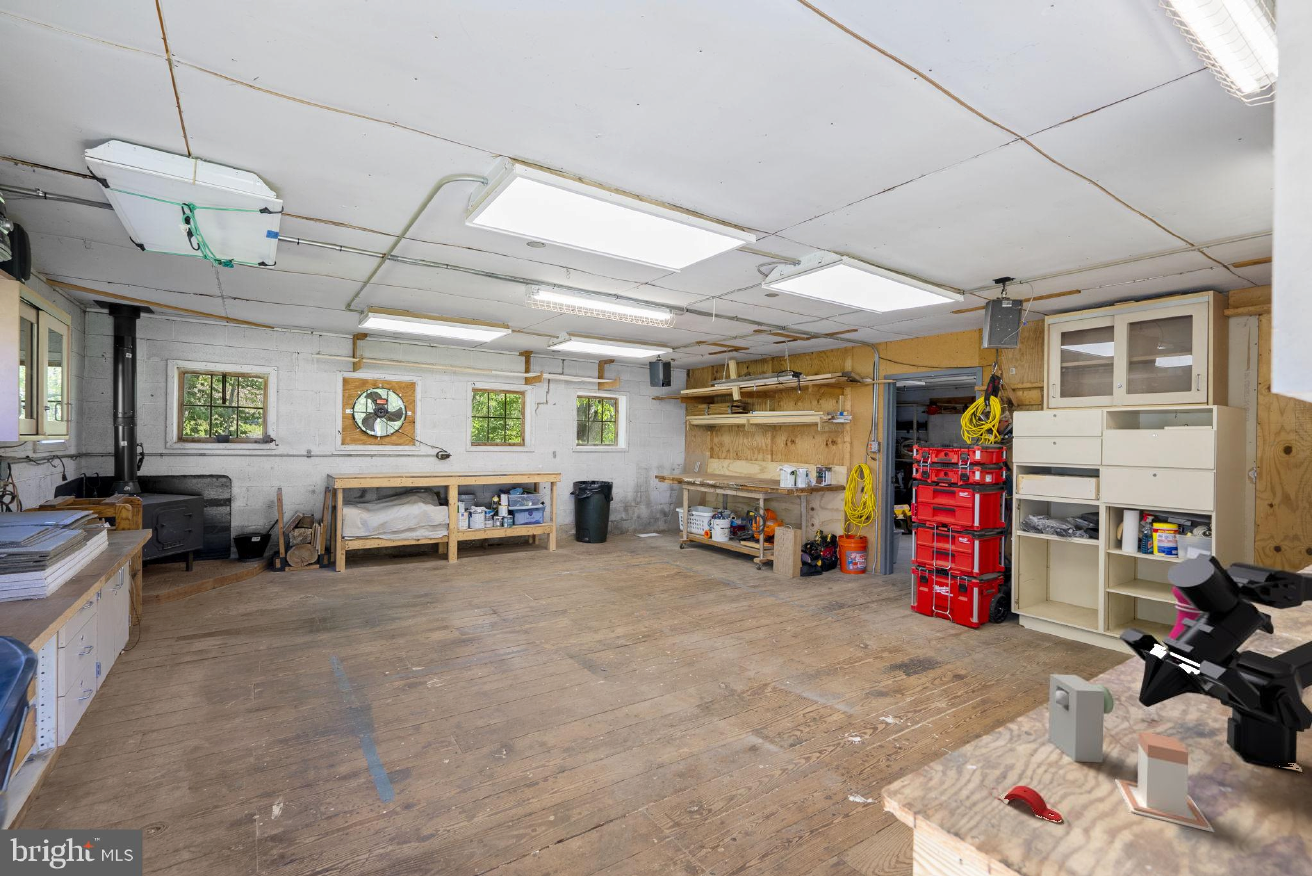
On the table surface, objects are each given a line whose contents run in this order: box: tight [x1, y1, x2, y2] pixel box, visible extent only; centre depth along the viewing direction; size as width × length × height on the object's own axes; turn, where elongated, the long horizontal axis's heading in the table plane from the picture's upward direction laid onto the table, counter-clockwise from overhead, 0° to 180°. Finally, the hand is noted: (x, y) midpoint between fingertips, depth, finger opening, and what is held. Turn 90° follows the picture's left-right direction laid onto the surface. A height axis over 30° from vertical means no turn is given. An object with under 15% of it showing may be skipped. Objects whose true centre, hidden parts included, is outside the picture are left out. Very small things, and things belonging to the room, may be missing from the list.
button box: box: [1048, 673, 1105, 763], centre depth 90 cm, size 4×6×10 cm, turn 179°
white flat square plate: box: [1114, 778, 1215, 833], centre depth 77 cm, size 8×8×1 cm
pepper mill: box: [1168, 586, 1203, 662], centre depth 127 cm, size 7×7×20 cm
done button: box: [1055, 684, 1115, 715], centre depth 90 cm, size 7×4×4 cm, turn 89°
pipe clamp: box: [1004, 785, 1063, 822], centre depth 76 cm, size 8×3×2 cm, turn 42°
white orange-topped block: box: [1137, 731, 1189, 816], centre depth 77 cm, size 4×4×8 cm
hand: (1142, 703), depth 89 cm, fingers closed
